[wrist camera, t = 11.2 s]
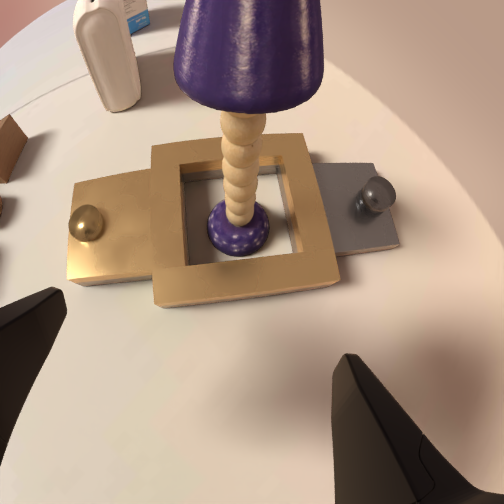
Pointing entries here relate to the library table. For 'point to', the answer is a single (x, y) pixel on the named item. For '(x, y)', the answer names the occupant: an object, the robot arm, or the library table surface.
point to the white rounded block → (108, 51)
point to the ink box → (136, 14)
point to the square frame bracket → (237, 271)
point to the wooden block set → (9, 148)
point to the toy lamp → (247, 92)
